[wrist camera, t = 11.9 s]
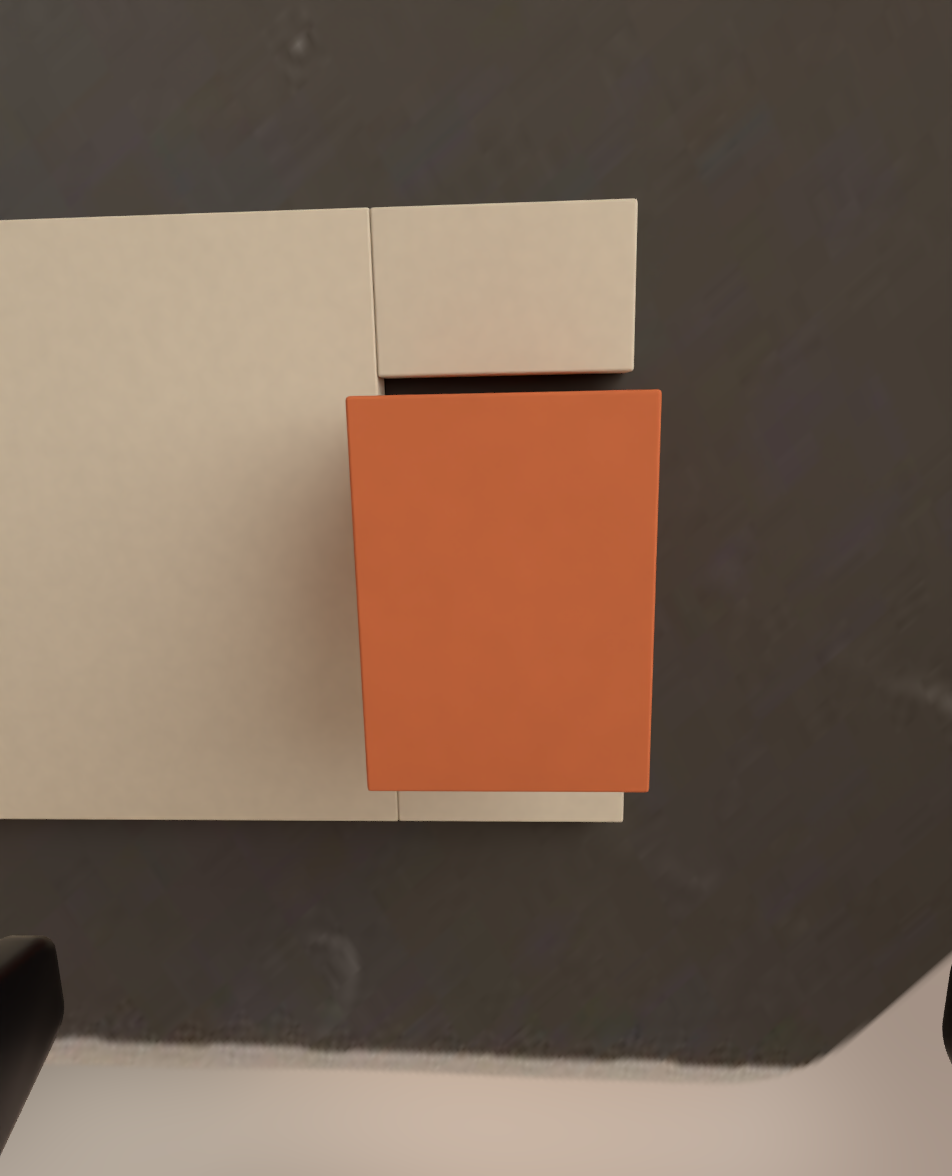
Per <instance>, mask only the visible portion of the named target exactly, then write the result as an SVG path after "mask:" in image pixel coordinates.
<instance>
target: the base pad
mask: <svg viewBox="0 0 952 1176" xmlns="http://www.w3.org/2000/svg"><path fill="white" fill-rule="evenodd" d="M637 208H638V202H637V200H636V199H605V200H576V201H547V202H519V203H490V204H461V205H432V206H403V207H374V208H371V209H370V210H369V208H339V209H310V210H281V211H252V212H224V213H195V214H166V215H137V216H108V217H79V218H50V219H22V220H0V819H120V820H304V821H398V819H400V821H523V822H622V820H623V801H624V792H474V791H369V790H368V787H367V771H366V753H365V736H364V718H363V700H362V683H361V665H360V648H359V630H358V613H357V595H356V578H355V560H354V543H353V525H352V508H351V490H350V472H349V455H348V437H347V420H346V402H345V400H346V397H348V396H377V395H385V387H384V378H387V379H391V378H433V377H476V376H519V375H561V374H604V373H627V372H630V371H632V370H633V368H634V335H635V293H636V250H637Z"/></svg>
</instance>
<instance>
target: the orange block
mask: <svg viewBox="0 0 952 1176" xmlns="http://www.w3.org/2000/svg"><path fill="white" fill-rule="evenodd" d="M661 400H662V393H661V391H660V390H658V389H653V390H607V391H561V392H515V393H469V394H423V395H377V396H348V397H346V400H345V402H346V420H347V437H348V455H349V472H350V490H351V508H352V525H353V543H354V560H355V578H356V595H357V613H358V630H359V648H360V665H361V683H362V700H363V718H364V736H365V753H366V771H367V787H368V790H369V791H474V792H648V789H649V769H650V739H651V708H652V677H653V646H654V615H655V584H656V554H657V523H658V492H659V461H660V430H661Z"/></svg>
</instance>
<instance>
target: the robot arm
mask: <svg viewBox="0 0 952 1176" xmlns="http://www.w3.org/2000/svg"><path fill="white" fill-rule="evenodd" d="M63 1014H64V1000H63V993H62V987H61V980H60V974H59V967H58V960H57V954H56V949H55V945H54V944H53V942H52V940H51V939H49V938H47V937H45V936H21V935H15V936H8V937H5V938H3V939H1V940H0V1155H1V1153H2V1151H3V1149H4V1147H5V1144H6V1142H7V1140H8V1138H9V1136H10V1134H11V1132H12V1130H13V1128H14V1125H15V1123H16V1121H17V1119H18V1117H19V1115H20V1113H21V1111H22V1108H23V1106H24V1104H25V1102H26V1100H27V1098H28V1096H29V1094H30V1091H31V1089H32V1087H33V1085H34V1083H35V1081H36V1079H37V1077H38V1075H39V1072H40V1070H41V1068H42V1066H43V1064H44V1062H45V1060H46V1058H47V1055H48V1053H49V1051H50V1049H51V1047H52V1045H53V1043H54V1041H55V1038H56V1036H57V1034H58V1032H59V1029H60V1026H61V1023H62V1019H63ZM942 1030H943V1040H944V1045H945V1048H946V1051H947V1054H948V1056H949V1059H950V1061H951V1063H952V966H951V970H950V977H949V983H948V990H947V996H946V1003H945V1010H944V1017H943V1026H942Z"/></svg>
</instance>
